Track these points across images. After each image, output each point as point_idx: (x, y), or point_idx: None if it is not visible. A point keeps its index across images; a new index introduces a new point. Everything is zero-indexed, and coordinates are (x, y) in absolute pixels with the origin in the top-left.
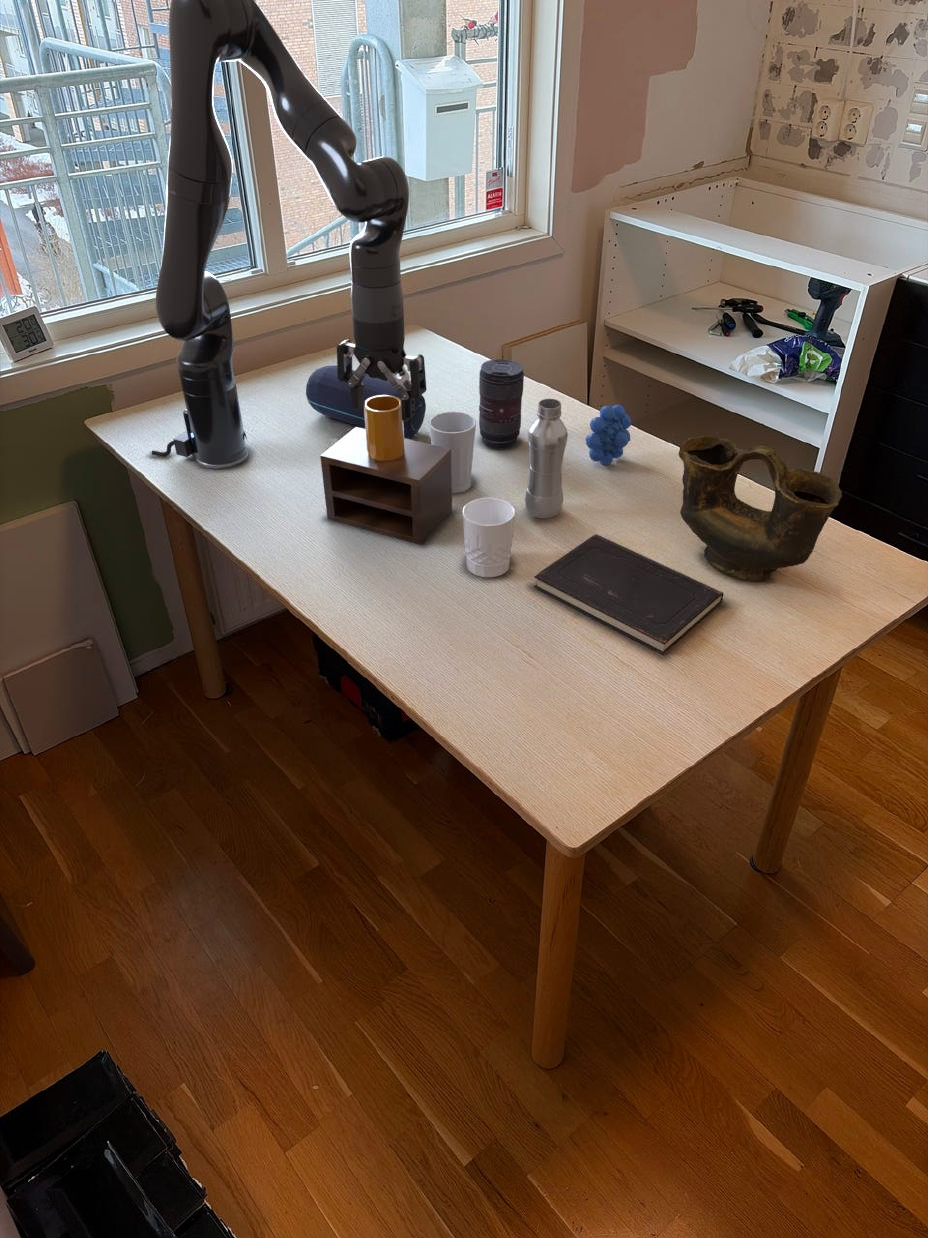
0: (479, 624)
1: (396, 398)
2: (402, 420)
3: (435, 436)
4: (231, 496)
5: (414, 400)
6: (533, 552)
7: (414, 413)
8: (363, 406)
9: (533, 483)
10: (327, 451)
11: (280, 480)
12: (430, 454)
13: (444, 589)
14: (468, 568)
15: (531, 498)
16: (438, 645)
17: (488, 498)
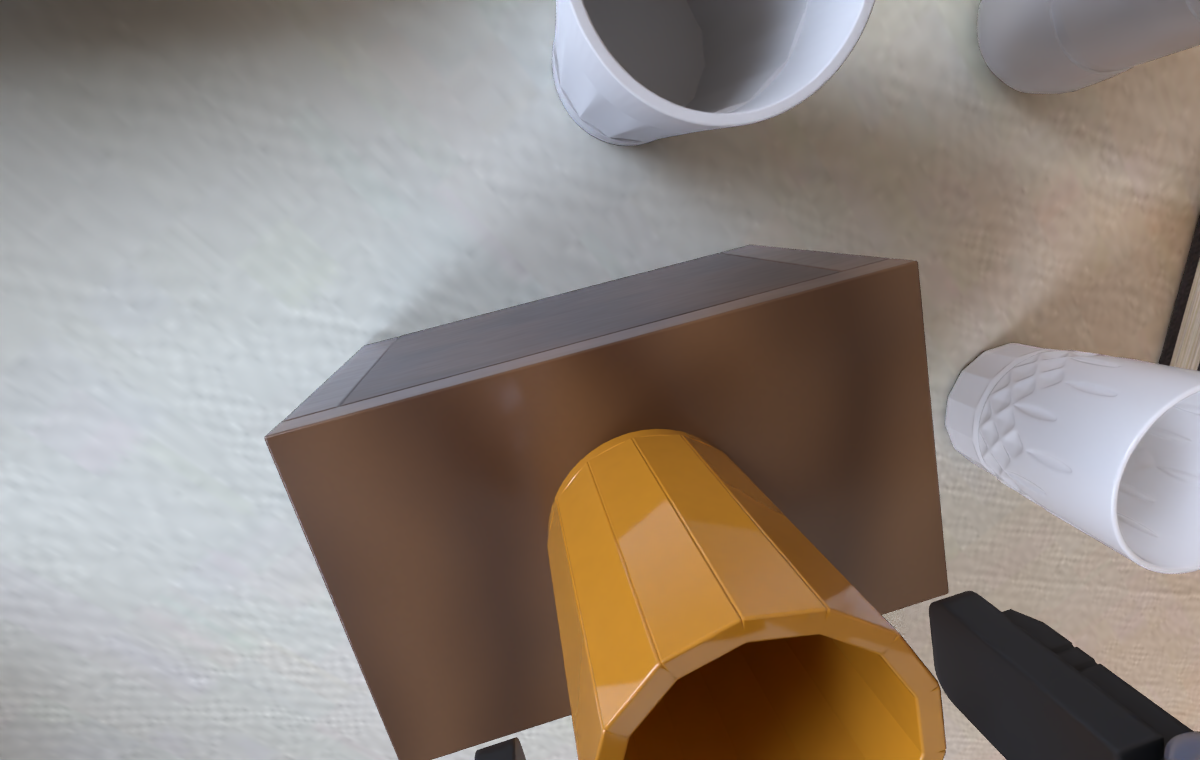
0: (1088, 594)
1: (814, 631)
2: (939, 681)
3: (683, 126)
4: (42, 698)
5: (1161, 714)
6: (1083, 260)
7: (1031, 622)
8: (522, 752)
9: (1147, 51)
10: (395, 722)
11: (61, 515)
12: (857, 384)
13: (954, 559)
14: (973, 463)
15: (1080, 80)
16: None
17: (1168, 409)
